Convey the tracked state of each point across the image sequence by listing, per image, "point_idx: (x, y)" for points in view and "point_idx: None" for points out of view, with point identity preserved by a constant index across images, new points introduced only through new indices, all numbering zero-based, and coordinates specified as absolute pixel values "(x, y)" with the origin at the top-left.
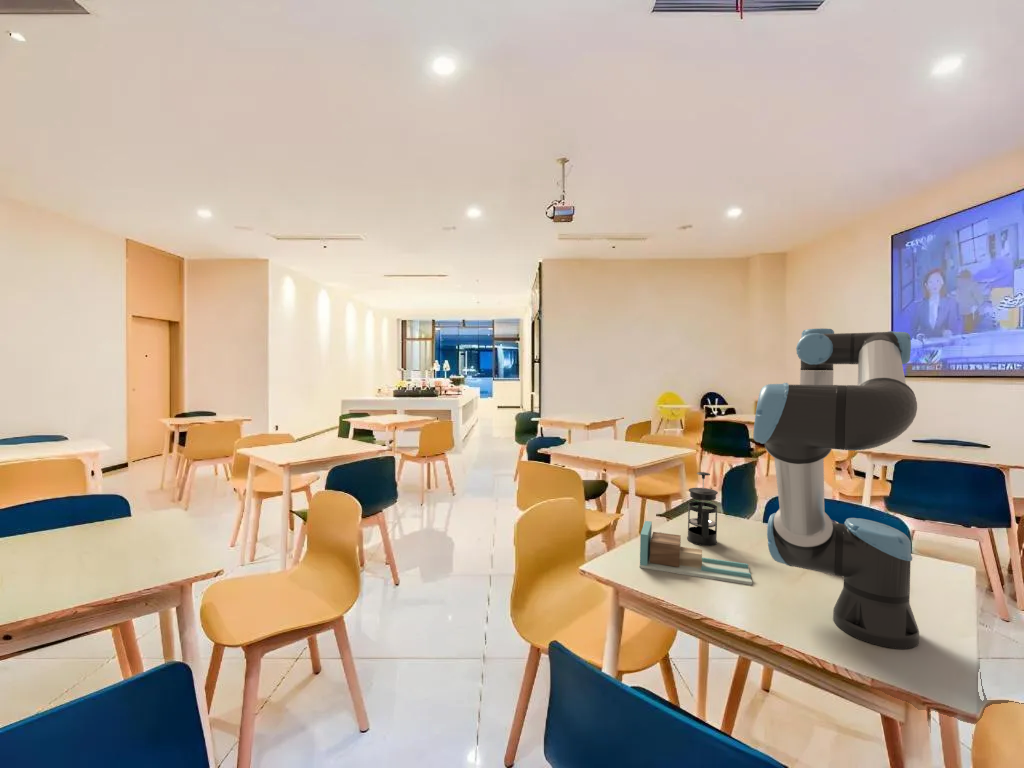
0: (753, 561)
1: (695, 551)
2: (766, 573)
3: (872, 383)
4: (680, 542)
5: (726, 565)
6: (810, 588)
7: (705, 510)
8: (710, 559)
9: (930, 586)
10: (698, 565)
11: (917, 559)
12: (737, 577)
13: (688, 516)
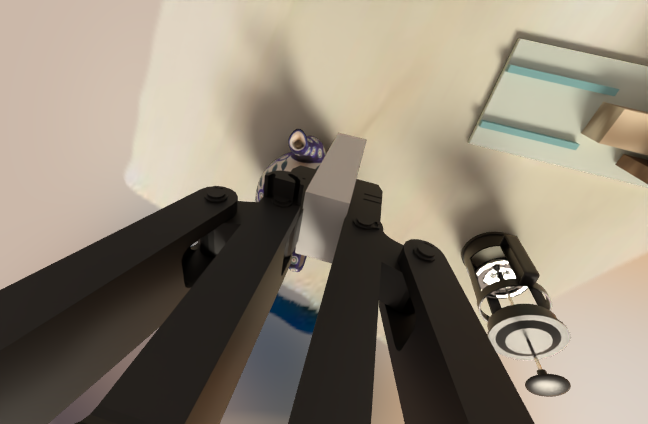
0: (439, 168)
1: (629, 127)
2: (444, 112)
3: None
4: (637, 176)
5: (524, 127)
6: (390, 48)
7: (529, 280)
8: (559, 140)
9: (183, 101)
10: (614, 104)
11: (172, 202)
12: (541, 60)
13: (537, 291)
